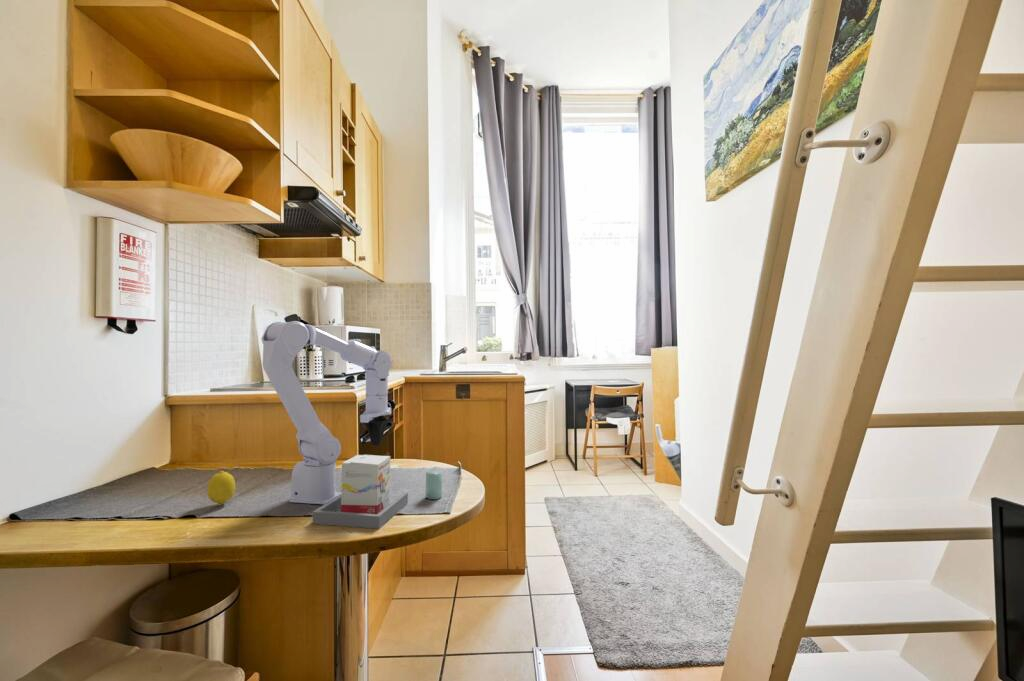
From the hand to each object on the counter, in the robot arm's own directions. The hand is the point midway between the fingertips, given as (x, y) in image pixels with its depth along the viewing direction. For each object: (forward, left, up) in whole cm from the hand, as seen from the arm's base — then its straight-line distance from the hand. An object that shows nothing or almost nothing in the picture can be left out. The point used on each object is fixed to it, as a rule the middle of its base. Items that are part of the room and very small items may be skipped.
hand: (376, 444), depth 125 cm
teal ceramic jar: (+19, -8, -10) cm, 23 cm away
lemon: (-28, -22, -11) cm, 37 cm away
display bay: (+7, -21, -10) cm, 24 cm away
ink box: (+7, -19, -11) cm, 23 cm away
